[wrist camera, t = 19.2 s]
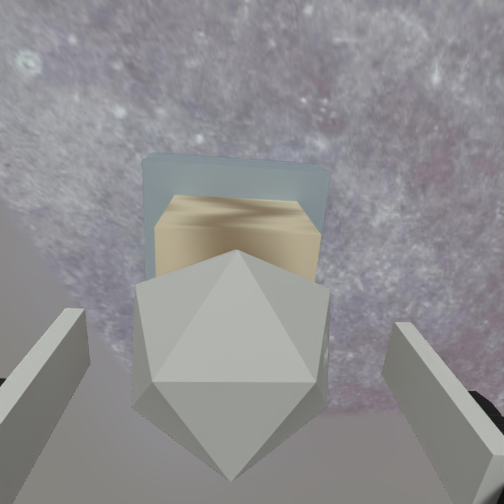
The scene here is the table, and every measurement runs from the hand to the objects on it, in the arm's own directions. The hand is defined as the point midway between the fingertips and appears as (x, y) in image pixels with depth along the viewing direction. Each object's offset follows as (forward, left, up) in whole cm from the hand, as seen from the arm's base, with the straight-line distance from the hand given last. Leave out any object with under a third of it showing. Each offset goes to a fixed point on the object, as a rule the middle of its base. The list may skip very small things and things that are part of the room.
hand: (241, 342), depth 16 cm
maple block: (0, 0, -10) cm, 11 cm away
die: (0, 0, -4) cm, 4 cm away
